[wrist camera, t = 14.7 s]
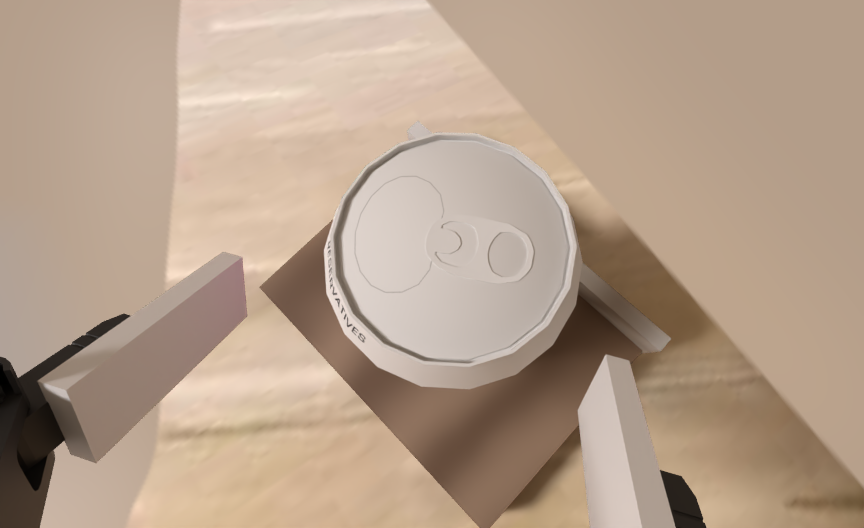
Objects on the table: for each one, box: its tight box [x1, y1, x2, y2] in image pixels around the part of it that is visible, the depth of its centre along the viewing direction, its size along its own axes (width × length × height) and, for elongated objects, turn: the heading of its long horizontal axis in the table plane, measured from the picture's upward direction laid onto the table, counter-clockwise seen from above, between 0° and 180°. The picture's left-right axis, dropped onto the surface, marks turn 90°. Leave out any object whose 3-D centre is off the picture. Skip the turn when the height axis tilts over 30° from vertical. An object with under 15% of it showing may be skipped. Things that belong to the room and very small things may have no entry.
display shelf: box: [260, 121, 671, 528], centre depth 27 cm, size 20×15×5 cm
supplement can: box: [324, 132, 583, 389], centre depth 19 cm, size 8×8×15 cm
